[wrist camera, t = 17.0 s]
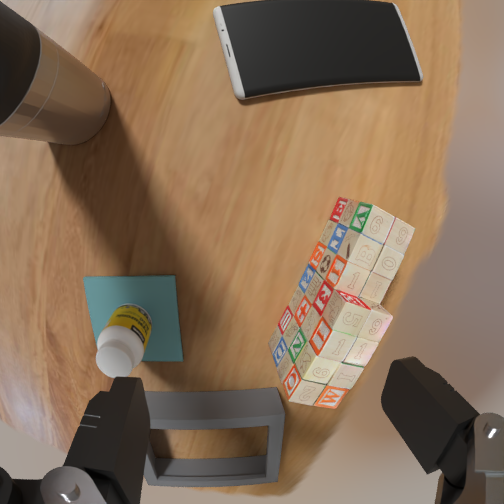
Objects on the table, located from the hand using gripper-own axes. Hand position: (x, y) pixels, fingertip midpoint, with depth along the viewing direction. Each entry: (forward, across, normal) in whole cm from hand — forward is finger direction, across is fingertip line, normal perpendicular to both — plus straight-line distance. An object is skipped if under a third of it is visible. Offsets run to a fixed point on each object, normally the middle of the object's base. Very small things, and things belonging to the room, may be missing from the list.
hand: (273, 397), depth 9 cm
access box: (+28, +4, +32) cm, 43 cm away
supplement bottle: (+28, +12, +12) cm, 33 cm away
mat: (+28, +12, +12) cm, 33 cm away
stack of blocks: (+29, -12, +7) cm, 32 cm away
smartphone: (+29, -12, -25) cm, 40 cm away
